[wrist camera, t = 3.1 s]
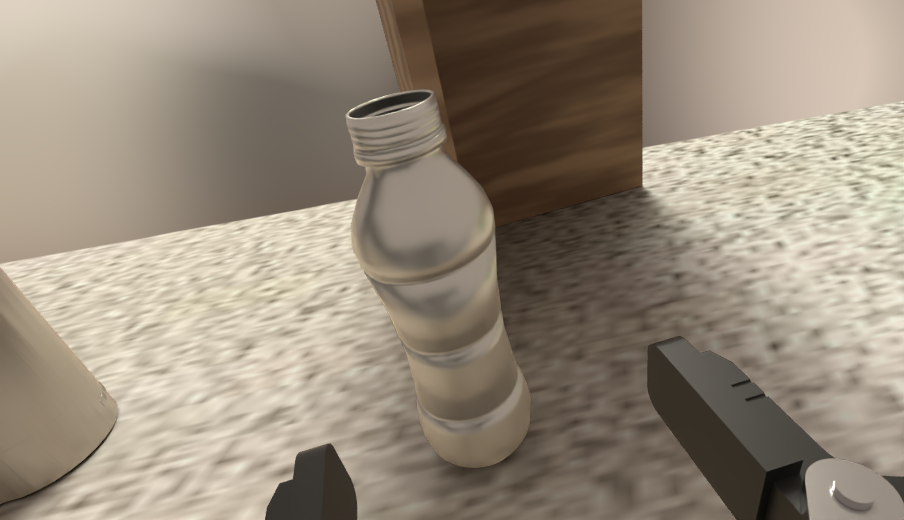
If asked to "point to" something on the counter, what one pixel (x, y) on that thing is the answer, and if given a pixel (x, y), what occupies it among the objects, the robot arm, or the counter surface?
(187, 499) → the counter surface
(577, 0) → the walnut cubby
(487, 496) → the counter surface
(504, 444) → the plastic bottle
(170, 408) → the counter surface
